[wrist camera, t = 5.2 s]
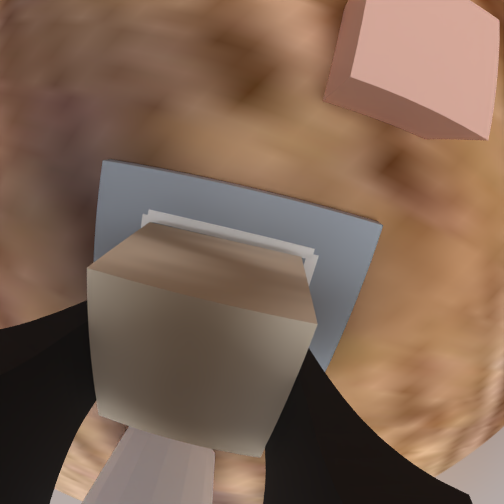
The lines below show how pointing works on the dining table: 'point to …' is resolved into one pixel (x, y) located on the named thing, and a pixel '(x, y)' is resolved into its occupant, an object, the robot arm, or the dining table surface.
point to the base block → (197, 336)
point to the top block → (418, 66)
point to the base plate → (246, 231)
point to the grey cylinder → (154, 472)
